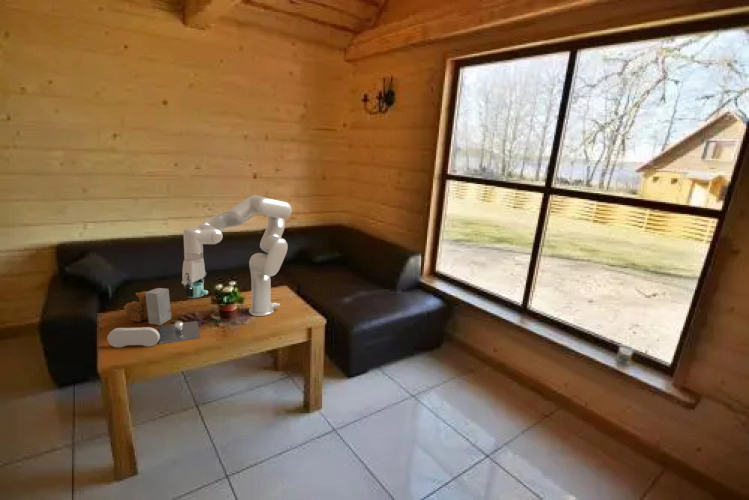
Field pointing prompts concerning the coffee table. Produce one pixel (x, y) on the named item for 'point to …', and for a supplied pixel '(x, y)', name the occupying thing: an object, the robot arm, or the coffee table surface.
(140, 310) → the stuffed squirrel
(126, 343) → the game controller
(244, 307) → the coffee table surface
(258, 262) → the robot arm
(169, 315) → the skincare box
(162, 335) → the grey plate with knob
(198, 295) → the teal cup
